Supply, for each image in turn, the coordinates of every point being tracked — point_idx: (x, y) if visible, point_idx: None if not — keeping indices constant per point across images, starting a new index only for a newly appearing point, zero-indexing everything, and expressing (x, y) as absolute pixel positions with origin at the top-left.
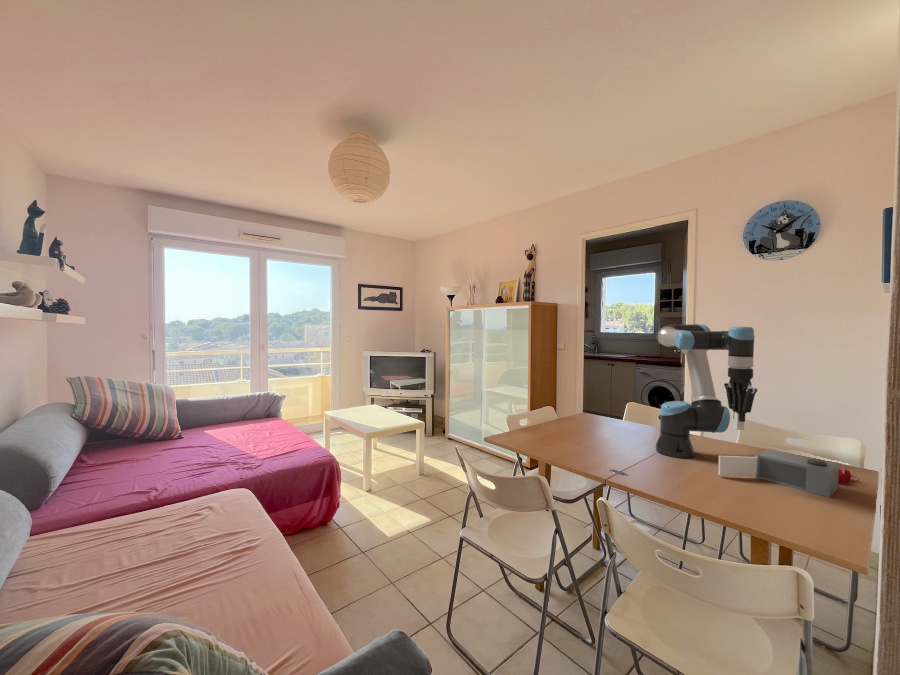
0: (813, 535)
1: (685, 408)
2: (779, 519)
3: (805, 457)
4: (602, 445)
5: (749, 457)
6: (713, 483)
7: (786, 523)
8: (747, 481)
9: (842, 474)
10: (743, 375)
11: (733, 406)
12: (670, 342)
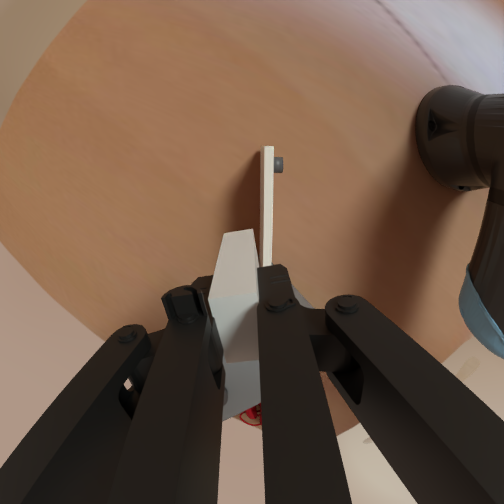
0: (7, 193)
1: None
2: (38, 166)
3: (258, 397)
4: None
5: (263, 258)
6: (206, 101)
7: (28, 171)
8: (235, 214)
9: (247, 414)
10: None
11: (286, 332)
12: None
